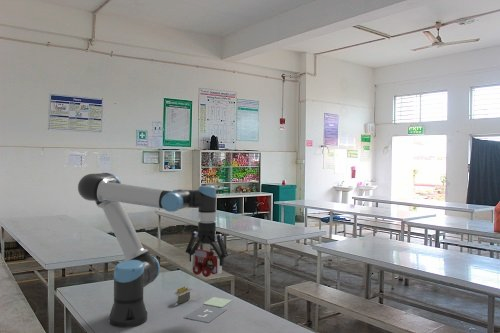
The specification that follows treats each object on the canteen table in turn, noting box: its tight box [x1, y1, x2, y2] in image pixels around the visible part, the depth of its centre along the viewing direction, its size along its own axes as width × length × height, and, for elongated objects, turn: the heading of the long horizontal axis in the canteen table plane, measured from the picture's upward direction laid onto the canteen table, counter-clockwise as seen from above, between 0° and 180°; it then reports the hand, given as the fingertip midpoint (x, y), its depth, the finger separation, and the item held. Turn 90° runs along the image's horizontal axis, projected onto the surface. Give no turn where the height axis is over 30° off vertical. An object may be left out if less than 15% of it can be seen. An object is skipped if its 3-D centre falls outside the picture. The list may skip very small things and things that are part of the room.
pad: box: [202, 296, 233, 309], centre depth 190 cm, size 10×10×1 cm
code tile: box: [183, 304, 227, 324], centre depth 176 cm, size 16×12×1 cm
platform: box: [174, 286, 193, 305], centre depth 191 cm, size 12×18×7 cm, turn 149°
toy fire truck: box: [192, 248, 218, 278], centre depth 175 cm, size 7×12×10 cm, turn 57°
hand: (206, 271), depth 175 cm, fingers closed on toy fire truck, 12 cm apart
